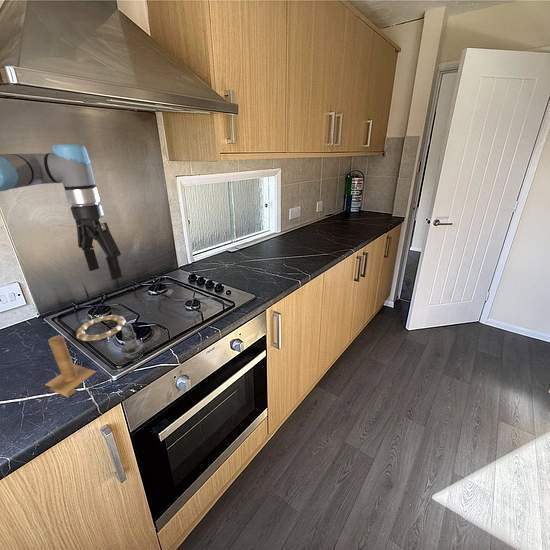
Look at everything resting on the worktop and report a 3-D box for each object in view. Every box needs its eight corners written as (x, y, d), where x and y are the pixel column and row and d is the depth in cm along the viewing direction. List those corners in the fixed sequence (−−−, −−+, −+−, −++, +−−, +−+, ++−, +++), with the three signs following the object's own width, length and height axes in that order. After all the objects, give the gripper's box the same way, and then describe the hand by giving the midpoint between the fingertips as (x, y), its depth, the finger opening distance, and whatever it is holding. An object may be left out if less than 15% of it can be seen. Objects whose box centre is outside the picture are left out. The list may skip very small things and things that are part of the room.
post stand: (46, 389, 74) (27, 345, 68) (76, 368, 81) (60, 327, 75) (68, 397, 71) (49, 352, 66) (97, 375, 78) (82, 332, 72)
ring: (67, 339, 94) (64, 333, 93) (105, 316, 106) (104, 311, 105) (99, 348, 89) (97, 341, 88) (136, 323, 101) (134, 317, 100)
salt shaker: (138, 348, 88) (129, 314, 83) (150, 355, 85) (141, 320, 80) (119, 359, 83) (108, 323, 79) (130, 367, 80) (120, 330, 76)
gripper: (122, 205, 78) (139, 277, 87) (79, 199, 92) (97, 262, 100) (93, 209, 73) (114, 287, 81) (51, 203, 86) (73, 270, 94)
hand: (105, 273), depth 90 cm, fingers open, 13 cm apart
